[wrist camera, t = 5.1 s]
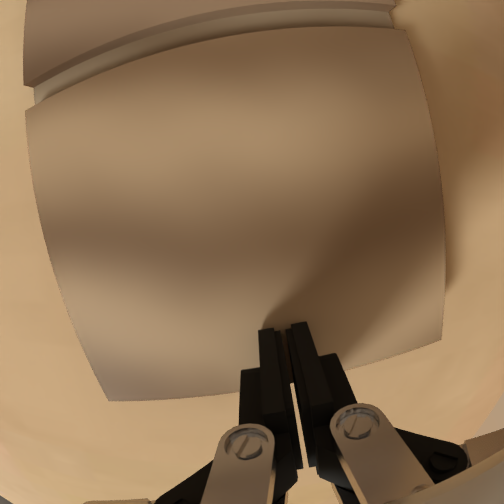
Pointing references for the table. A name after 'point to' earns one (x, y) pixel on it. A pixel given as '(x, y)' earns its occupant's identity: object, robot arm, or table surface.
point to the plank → (243, 206)
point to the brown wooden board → (160, 30)
